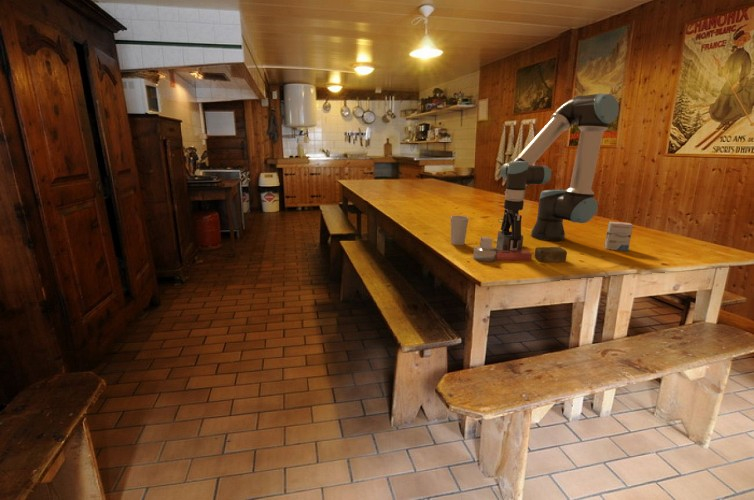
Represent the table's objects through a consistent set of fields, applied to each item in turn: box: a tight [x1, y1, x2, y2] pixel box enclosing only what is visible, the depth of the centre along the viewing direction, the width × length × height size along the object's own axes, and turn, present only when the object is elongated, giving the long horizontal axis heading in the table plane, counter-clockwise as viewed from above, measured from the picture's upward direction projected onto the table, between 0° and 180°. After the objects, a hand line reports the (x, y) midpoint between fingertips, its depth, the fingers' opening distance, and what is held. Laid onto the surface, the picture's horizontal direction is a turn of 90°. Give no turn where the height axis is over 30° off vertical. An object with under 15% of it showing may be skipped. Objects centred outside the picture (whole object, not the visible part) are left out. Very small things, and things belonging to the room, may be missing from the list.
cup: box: [450, 215, 470, 246], centre depth 180 cm, size 8×8×12 cm
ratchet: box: [472, 236, 533, 263], centre depth 159 cm, size 22×9×8 cm, turn 91°
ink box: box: [604, 221, 634, 252], centre depth 175 cm, size 8×5×12 cm, turn 71°
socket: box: [496, 230, 524, 250], centre depth 169 cm, size 8×8×8 cm
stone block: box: [534, 246, 568, 263], centre depth 159 cm, size 6×12×5 cm, turn 95°
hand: (508, 251), depth 170 cm, fingers open, 10 cm apart
